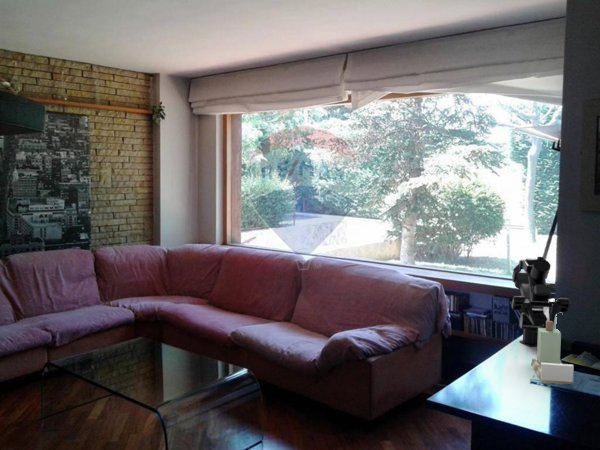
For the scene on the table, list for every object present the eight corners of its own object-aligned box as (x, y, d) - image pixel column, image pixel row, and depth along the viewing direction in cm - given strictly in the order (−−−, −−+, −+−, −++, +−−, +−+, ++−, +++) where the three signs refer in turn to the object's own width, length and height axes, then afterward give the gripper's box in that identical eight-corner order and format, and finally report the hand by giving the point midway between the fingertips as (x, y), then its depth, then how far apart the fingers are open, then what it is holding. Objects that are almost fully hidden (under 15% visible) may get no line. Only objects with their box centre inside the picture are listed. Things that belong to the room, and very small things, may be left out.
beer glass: (564, 339, 212) (566, 302, 211) (546, 339, 212) (548, 302, 211) (556, 334, 219) (558, 298, 218) (539, 334, 219) (540, 298, 218)
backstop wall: (540, 378, 168) (541, 362, 168) (571, 380, 166) (572, 364, 166) (541, 379, 167) (542, 364, 167) (573, 382, 165) (573, 366, 165)
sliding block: (536, 362, 182) (538, 319, 180) (556, 363, 180) (557, 320, 179) (539, 367, 177) (541, 323, 176) (559, 369, 175) (561, 324, 174)
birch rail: (531, 364, 184) (531, 357, 183) (559, 366, 182) (559, 359, 181) (541, 382, 167) (541, 375, 167) (572, 385, 165) (573, 377, 165)
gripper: (513, 273, 193) (517, 311, 183) (570, 275, 188) (577, 314, 179) (509, 291, 201) (513, 327, 191) (564, 293, 197) (570, 331, 187)
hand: (543, 325), depth 187 cm, fingers open, 6 cm apart
